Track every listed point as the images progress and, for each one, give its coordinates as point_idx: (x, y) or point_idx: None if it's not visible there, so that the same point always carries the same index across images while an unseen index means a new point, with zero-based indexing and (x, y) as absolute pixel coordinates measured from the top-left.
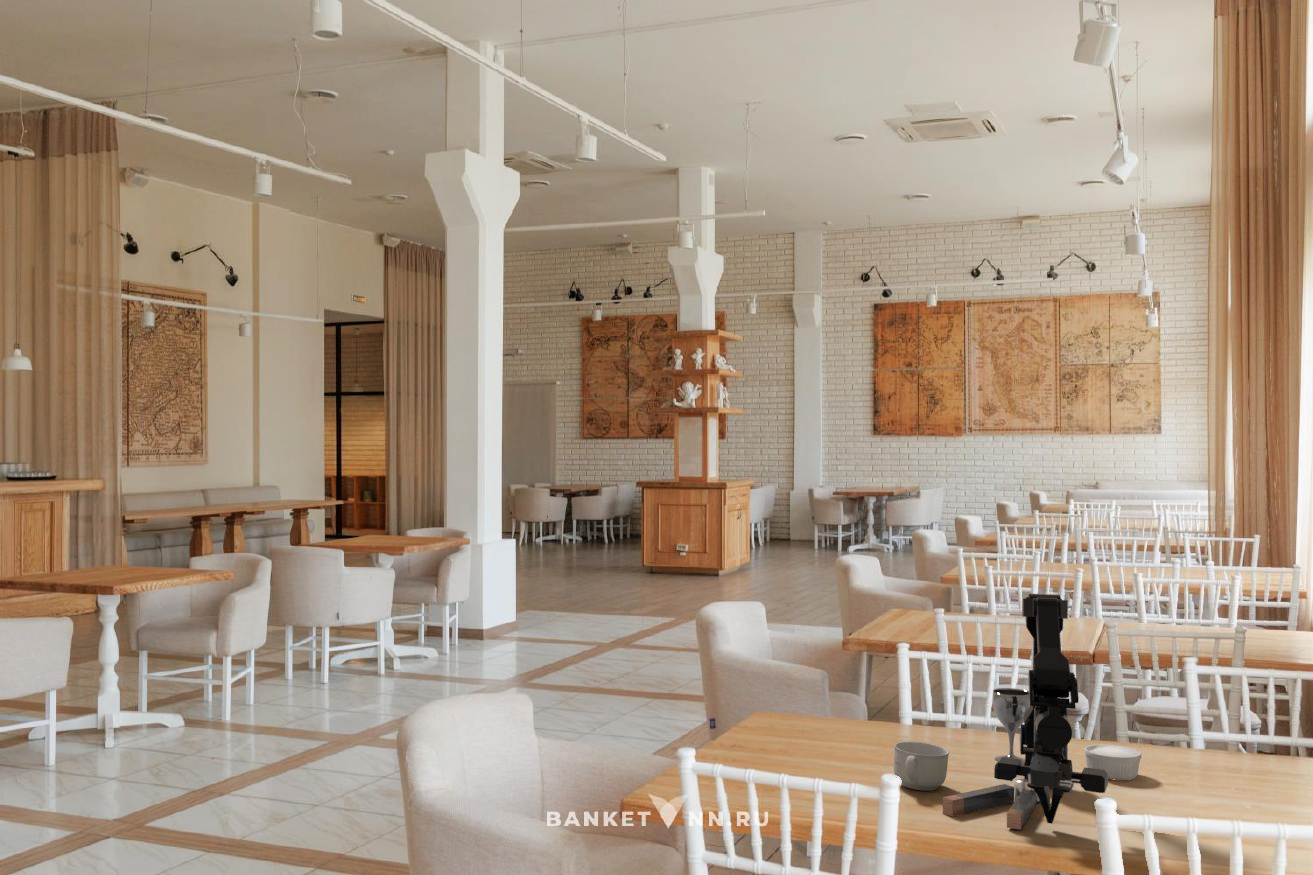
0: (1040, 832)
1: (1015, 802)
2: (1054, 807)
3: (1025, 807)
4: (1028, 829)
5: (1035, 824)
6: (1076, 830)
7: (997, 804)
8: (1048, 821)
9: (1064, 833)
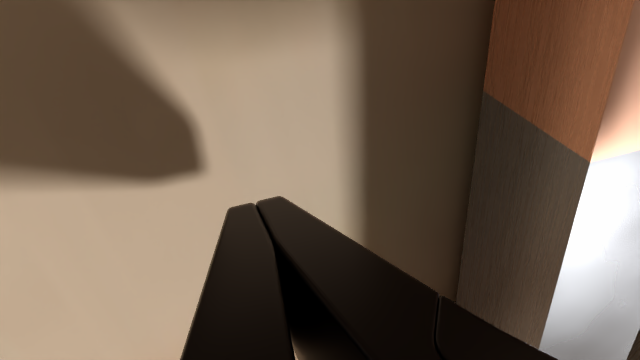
0: (300, 26)
1: (631, 325)
2: (225, 348)
3: (561, 267)
4: (424, 46)
5: (386, 220)
6: (18, 318)
7: None
8: (272, 203)
9: (67, 163)
